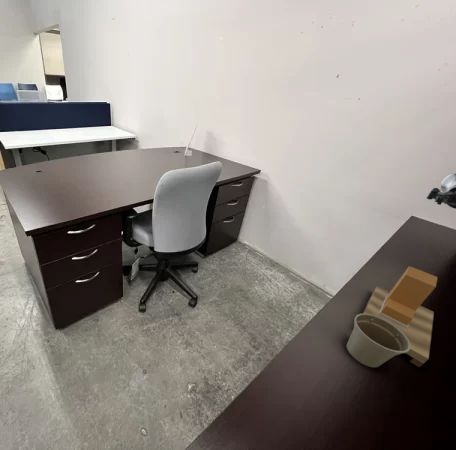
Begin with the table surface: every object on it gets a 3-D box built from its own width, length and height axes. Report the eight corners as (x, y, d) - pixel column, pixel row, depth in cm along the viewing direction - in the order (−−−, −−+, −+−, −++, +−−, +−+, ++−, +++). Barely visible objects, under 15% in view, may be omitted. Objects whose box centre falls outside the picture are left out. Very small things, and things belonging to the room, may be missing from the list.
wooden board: (370, 295, 73) (377, 286, 71) (424, 322, 65) (434, 311, 63) (353, 332, 61) (361, 321, 59) (417, 369, 53) (428, 358, 51)
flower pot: (390, 357, 55) (412, 333, 51) (385, 386, 49) (409, 362, 45) (343, 330, 61) (359, 306, 57) (333, 353, 55) (350, 329, 51)
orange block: (386, 296, 67) (408, 265, 62) (411, 308, 64) (438, 276, 58) (378, 314, 61) (402, 281, 56) (406, 328, 58) (434, 295, 52)
